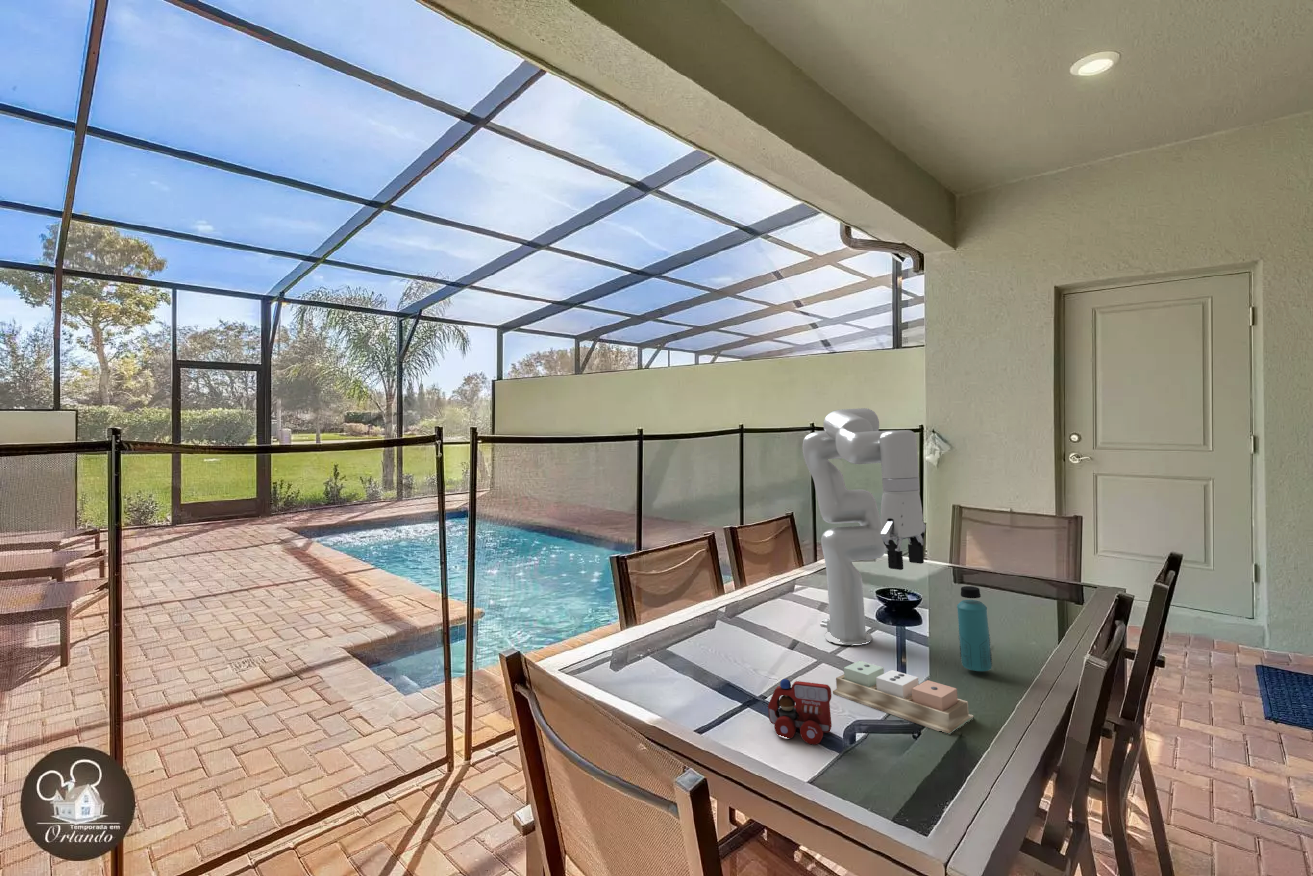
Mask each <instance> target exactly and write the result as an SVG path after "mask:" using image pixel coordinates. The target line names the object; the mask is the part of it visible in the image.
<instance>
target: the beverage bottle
mask: <svg viewBox="0 0 1313 876" xmlns="http://www.w3.org/2000/svg"><path fill="white" fill-rule="evenodd" d="M960 596H961V598H965V599H962V600H961V601H959V603H958V604H957V605H956V608H957V620H958V638H959V654H960V656H959V657H960V661H961V665H962V666H963V668H965V669H967V670H970V671H974V672H975V671H976V672H988V671H991V670H992V666H993V662H992V658H993V657H992V649H991V636H990V629H989V621H988V607H987V606H986V605H985V604H984V603H983V602H982V601H981V600H977V599H979V598H981V597H982V596H981V591H980V588H979V587H977V586H969V585H967V586H961V587H960Z"/></svg>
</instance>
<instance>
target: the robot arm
mask: <svg viewBox="0 0 1313 876" xmlns="http://www.w3.org/2000/svg"><path fill="white" fill-rule="evenodd" d="M917 446H918V445H917V436H916V433H915V432H914V430H913V431H912V430H910V429H906V430H905V429H901V430H899V429H898V430H893V429H891V430H880V420H879V417H878V415H877V413H876V412H875V411H874V410H872V409H870V408H868V407H867V408H865V407H864V408H863V407H862V408H859V407H858V408H846V409H845V408H844V409H837V410H833V411H831V412H829V413H828V414H827V415H826V416H825V417H824V420H823V430H819V431H814V432H811V433H808V434H807V435H805V436H804V437H803V442H802V456H803V460H804V462H805V465H806V467H807V470H808V472H809V474H810V475H811V477H812V479H813V483H814V489H815V494H816V499H817V502H818V508H819V511H820V512H819V513H820V516H821V518H822V520H823V521H824V522H825V523H828V524H833V525H834V524H837V525H838V524H850V523H858V524H859V525H854V526H853V525H851V526H850V525H849V526H839V527H836V526H835V527H832V528H828V529H827V530H825V531H824V532H823V533H822V534H821V538H820V543H821V549H822V554H823V558H824V559H823V560H824V563H825V570H826V571H825V572H826V583H827V597H828V599H827V600H828V612H829V614H828V615H829V618H825V617H824V618H822V619H821V622H820V623H819V625H820V627H821V628H826V633H827V632H830V633H831V635H832V636H833V637H835V638H837V639H840V641H839V642H842V643H847V644H862V643H866V642H869V641H871V640H872V641H873V636H872V634H871V633H869V632H868V631H866V619H865V618H866V617H865V616H866V615H865V603H864V601H865V600H864V588H863V587H864V586H863V577H862V574H861V573H860V571H859V570H858V569H857V567H856V566H855V565H854V564H853V562H854V561H862V560H863V561H864V560H865V561H866V560H874V559H875V560H876V559H880V558H882V557H883V556H884V555H885V553H886V551H887V565H888V568H889V569H892V570H898V571H903V569H904V558H903V557H904V555H903V550H901V547H902V543H903V540H906V539H908V542H909V544H907V551H908V562H909V563H911V564H912V563H913V564H920V565H921V564H924V562H925V561H924V559H925V558H924V547H923V546H924V543H925V542H924V538H925V532H926V528H927V525H926V524H925V522H924V515H923V507H922V500H921V495H920V477H919V473H920V472H919V462H918V448H917ZM835 459H843V460H844V461H846V462H848V463H850V464H854V465H866V464H867V465H868V464H881V467H880V468H881V481H882V494H881V495H882V496H881V503H880V504H881V505H880V512H879V508H878V504H877V501H876V499H875V496H874V495H873V494H872V493H871V492H870V491H869V490H866V489H861V488H859V489H848V488H847V487H846V484H845V479H844V476H843V473H842V472H841V471H840V469H839V468H838V467H837V466H836V465H835V464H834V463H832V462H830V461H829V460H835ZM895 541H896V542H895ZM866 633H868V634H866ZM872 641H871V642H872Z"/></svg>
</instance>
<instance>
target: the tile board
mask: <svg viewBox="0 0 1313 876" xmlns="http://www.w3.org/2000/svg"><path fill="white" fill-rule="evenodd" d="M835 682H836V689H834V690H832V694H833V695H836V696H839V697H842V698H844V699H846V700H850V701H852V702H855V703H858V704H861V705H864V706H867V707H869V708H872V709H876V710H879V712H883V713H886V714H889V715H892V716H894V717H897V718H900V719H902V720H906V721H909V722H912V723H914V724H917V725H920V726H922V727H926V728H929V729H931V730H935V731H937V732H939V731H942V732H946V733H950V732H952V731H953V730H954V729H956V728H957V727H958V726H959V725H961V724H963V723H964V722H965V721H967V720H968V719H971V718H973V717H974V715H973V714H970V711H969V710H970V709H969V701H967V700H963V699H961V698H958V703H957V704H956V705H954V706H952V707H951V708H949V709H947V710H946V711H944V712H942V711H939V710H936V709H933V708H930V707H927V706H924V705H921V704H918V703H915V702H913V698H912V695H911V696H909V697H907V698H905V699H902V698H899V697H896V696H893V695H890V694H887V693H884V692H881V691H878V690H877V685H876V684H875V685H873V686H871V687H866V686H863V685H860V684H856V683H853V682H850V681H847V680H845V679H844V674H840V675H839V676H837V677H836V678H835ZM974 718H975V717H974ZM942 732H941V733H942Z"/></svg>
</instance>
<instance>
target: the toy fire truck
mask: <svg viewBox="0 0 1313 876" xmlns="http://www.w3.org/2000/svg"><path fill="white" fill-rule="evenodd" d="M779 684H780V685H778V686H777V687H776V688H775V689H774V691H773V693H772V696H771V698H770V700H769V702H768V705H767V709H768V710H767V711H768V720H769V722H770V723H771V724H772V725H774V726H773V727H774V731H775V733H776V735H777V734H778V735H781V736H784V737H787V738H791V739H792V738H793V737H794V736H795V735H796V732H797V729H799V734H800V737H801V738H802V740H803V741H804V742H805V743H807V744H809V745H811V744H813V745H812V746H815V745H818V744H820V743H821V741H822V739H823V737H824V733H826V734H827V733H830V731H831V729H832V725H833V724H832V716H831V705H830V702H831V699H832V688H831V686H830V685H829V684H824V683H818V682H817V683H815V682H809V681H808V682H807V681H799V680H796V681H794V682H793V683H792V684H791V680H790V679H789V678H783V679H781V680H780V683H779ZM778 735H777V736H778Z"/></svg>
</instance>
